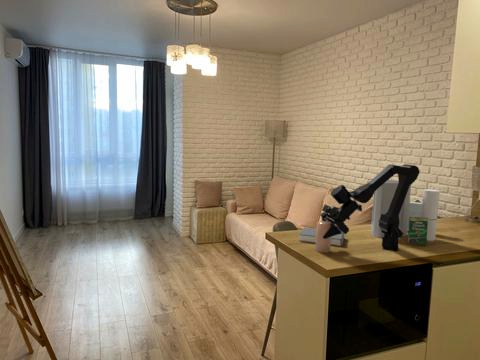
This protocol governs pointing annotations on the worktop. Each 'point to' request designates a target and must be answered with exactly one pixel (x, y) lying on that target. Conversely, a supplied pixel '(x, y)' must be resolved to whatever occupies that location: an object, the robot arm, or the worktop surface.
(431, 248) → the worktop surface
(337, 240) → the book
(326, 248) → the pink cylinder
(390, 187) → the tall white carton
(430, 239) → the cylindrical container
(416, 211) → the skincare box
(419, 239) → the coffee box
